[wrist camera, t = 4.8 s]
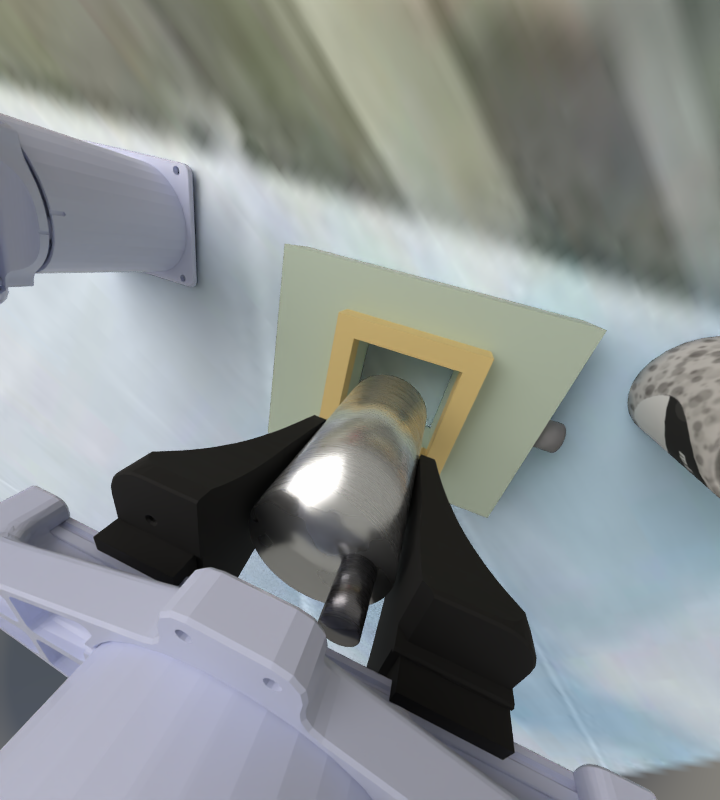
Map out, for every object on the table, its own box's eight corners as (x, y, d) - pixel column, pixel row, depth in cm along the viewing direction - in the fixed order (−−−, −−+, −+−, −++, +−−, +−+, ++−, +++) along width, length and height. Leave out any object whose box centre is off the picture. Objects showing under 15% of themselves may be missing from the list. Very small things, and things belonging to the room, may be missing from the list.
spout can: (344, 436, 17) (217, 627, 8) (351, 367, 15) (196, 513, 6) (417, 456, 16) (368, 696, 7) (434, 384, 15) (399, 587, 5)
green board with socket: (286, 416, 26) (256, 442, 23) (307, 246, 20) (270, 241, 16) (503, 497, 23) (513, 544, 19) (612, 328, 17) (660, 347, 13)
